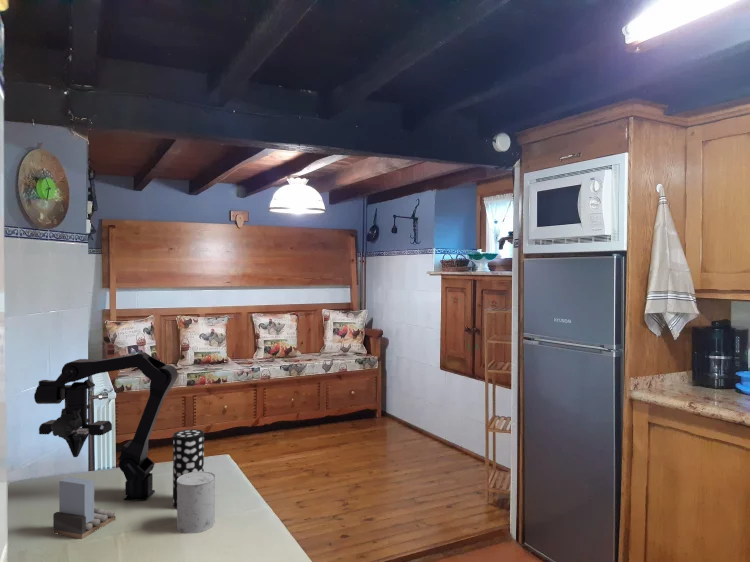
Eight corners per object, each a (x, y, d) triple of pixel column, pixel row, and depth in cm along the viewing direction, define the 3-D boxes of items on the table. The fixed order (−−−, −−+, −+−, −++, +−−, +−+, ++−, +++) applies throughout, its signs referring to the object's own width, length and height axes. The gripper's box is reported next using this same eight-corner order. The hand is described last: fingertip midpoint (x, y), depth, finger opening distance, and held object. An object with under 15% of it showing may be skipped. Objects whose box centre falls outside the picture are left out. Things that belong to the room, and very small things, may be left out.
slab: (69, 515, 140) (69, 476, 140) (94, 519, 137) (94, 480, 137) (59, 520, 137) (59, 480, 137) (84, 524, 135) (84, 484, 135)
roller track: (88, 514, 146) (88, 496, 146) (115, 519, 144) (115, 500, 144) (53, 533, 136) (53, 513, 136) (81, 538, 133) (82, 518, 133)
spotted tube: (209, 499, 157) (209, 431, 157) (191, 511, 149) (191, 439, 149) (185, 495, 160) (186, 428, 160) (166, 506, 152) (166, 436, 152)
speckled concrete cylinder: (179, 536, 135) (179, 487, 135) (174, 521, 143) (174, 474, 143) (218, 528, 139) (218, 481, 139) (211, 513, 148) (211, 469, 148)
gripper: (25, 409, 150) (25, 465, 150) (92, 410, 149) (91, 467, 149) (51, 400, 161) (51, 452, 161) (113, 401, 160) (112, 454, 160)
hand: (75, 456), depth 157 cm, fingers closed
